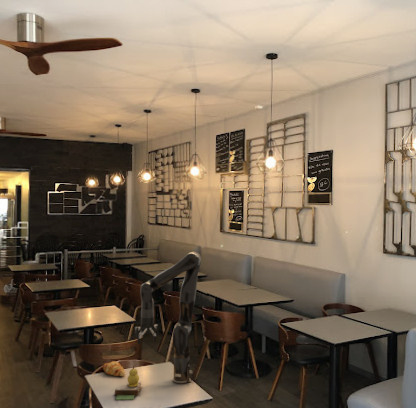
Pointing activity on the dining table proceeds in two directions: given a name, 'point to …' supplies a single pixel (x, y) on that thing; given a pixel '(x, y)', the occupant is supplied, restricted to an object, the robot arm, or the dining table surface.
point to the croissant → (114, 368)
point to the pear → (133, 378)
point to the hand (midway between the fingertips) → (146, 343)
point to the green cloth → (125, 397)
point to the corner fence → (128, 391)
